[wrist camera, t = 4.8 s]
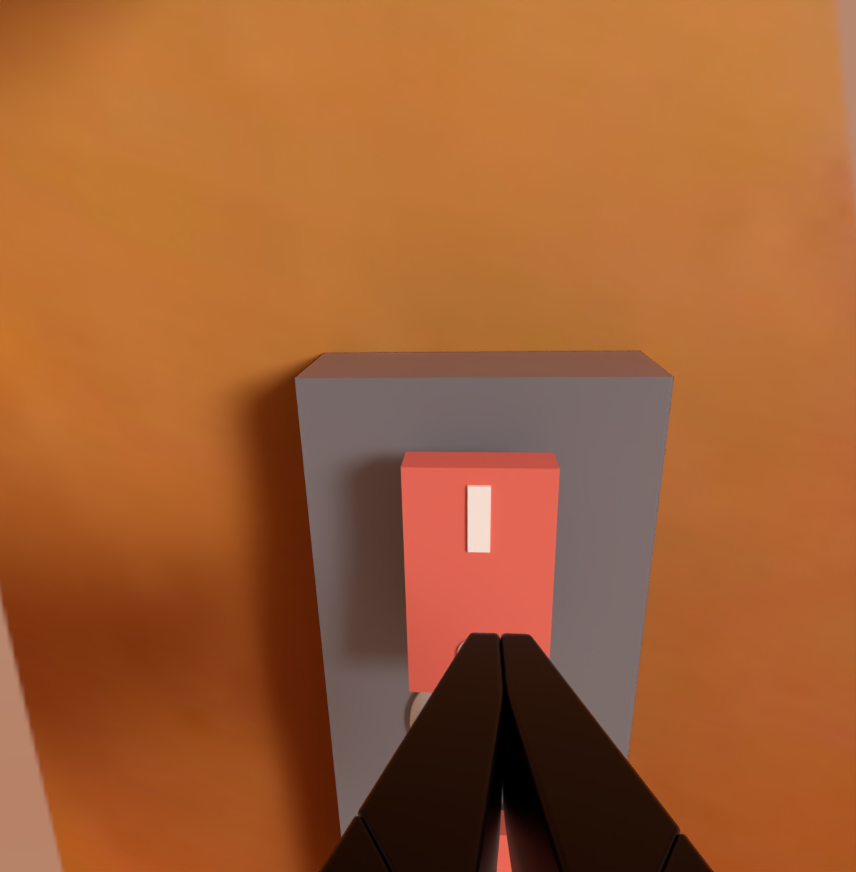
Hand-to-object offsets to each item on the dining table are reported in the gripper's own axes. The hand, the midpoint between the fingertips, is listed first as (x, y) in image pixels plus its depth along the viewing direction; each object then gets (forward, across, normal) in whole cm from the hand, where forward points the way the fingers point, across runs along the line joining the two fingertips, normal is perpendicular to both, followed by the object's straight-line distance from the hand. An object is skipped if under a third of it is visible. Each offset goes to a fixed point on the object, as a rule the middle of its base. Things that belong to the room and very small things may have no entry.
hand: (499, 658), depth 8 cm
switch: (+6, 0, +2) cm, 6 cm away
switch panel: (+10, 0, +10) cm, 14 cm away
